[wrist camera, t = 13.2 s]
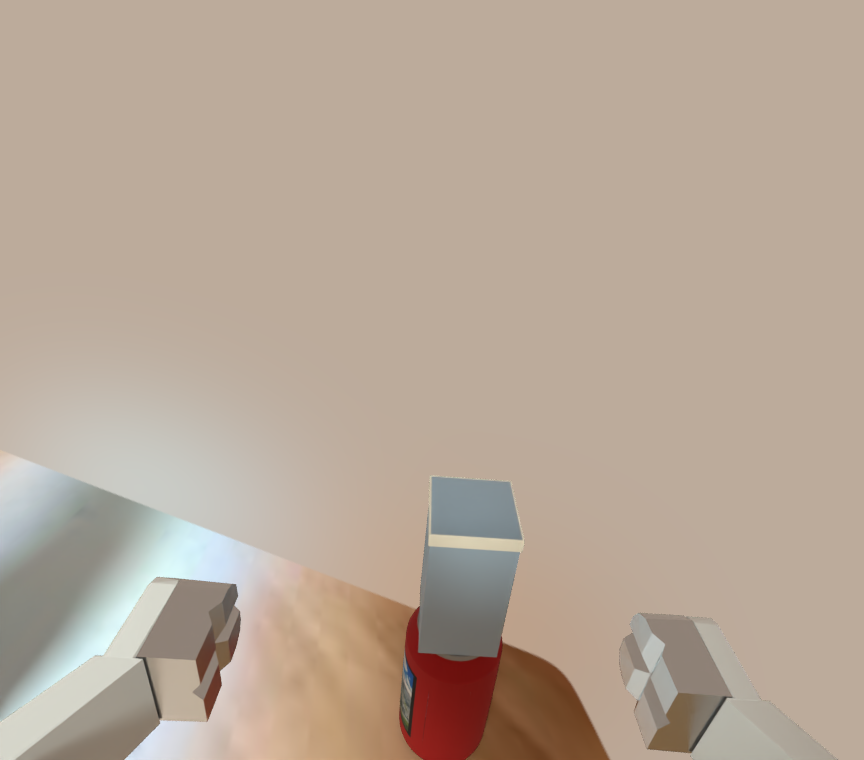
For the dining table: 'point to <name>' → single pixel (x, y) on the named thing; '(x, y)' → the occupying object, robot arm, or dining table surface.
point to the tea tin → (468, 565)
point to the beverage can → (444, 699)
